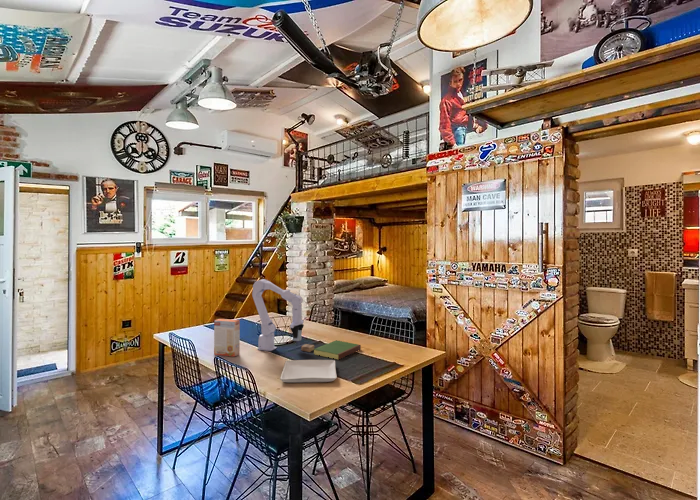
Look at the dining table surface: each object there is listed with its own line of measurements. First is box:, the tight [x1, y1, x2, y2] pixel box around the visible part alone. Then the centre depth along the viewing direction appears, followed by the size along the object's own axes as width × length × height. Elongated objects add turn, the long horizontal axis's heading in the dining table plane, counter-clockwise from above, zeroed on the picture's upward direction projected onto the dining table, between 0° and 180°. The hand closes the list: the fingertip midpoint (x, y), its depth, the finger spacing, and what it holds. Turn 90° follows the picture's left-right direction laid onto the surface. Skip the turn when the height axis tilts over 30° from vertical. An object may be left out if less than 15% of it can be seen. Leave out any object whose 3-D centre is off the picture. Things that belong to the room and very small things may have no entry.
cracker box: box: [213, 318, 241, 358], centre depth 227 cm, size 14×6×21 cm, turn 74°
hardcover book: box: [312, 340, 362, 361], centre depth 235 cm, size 25×19×4 cm
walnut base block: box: [300, 343, 315, 353], centre depth 238 cm, size 6×6×3 cm
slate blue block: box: [292, 329, 303, 342], centre depth 236 cm, size 4×4×6 cm
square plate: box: [279, 359, 338, 383], centre depth 195 cm, size 27×27×4 cm
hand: (296, 337), depth 237 cm, fingers closed on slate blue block, 4 cm apart
